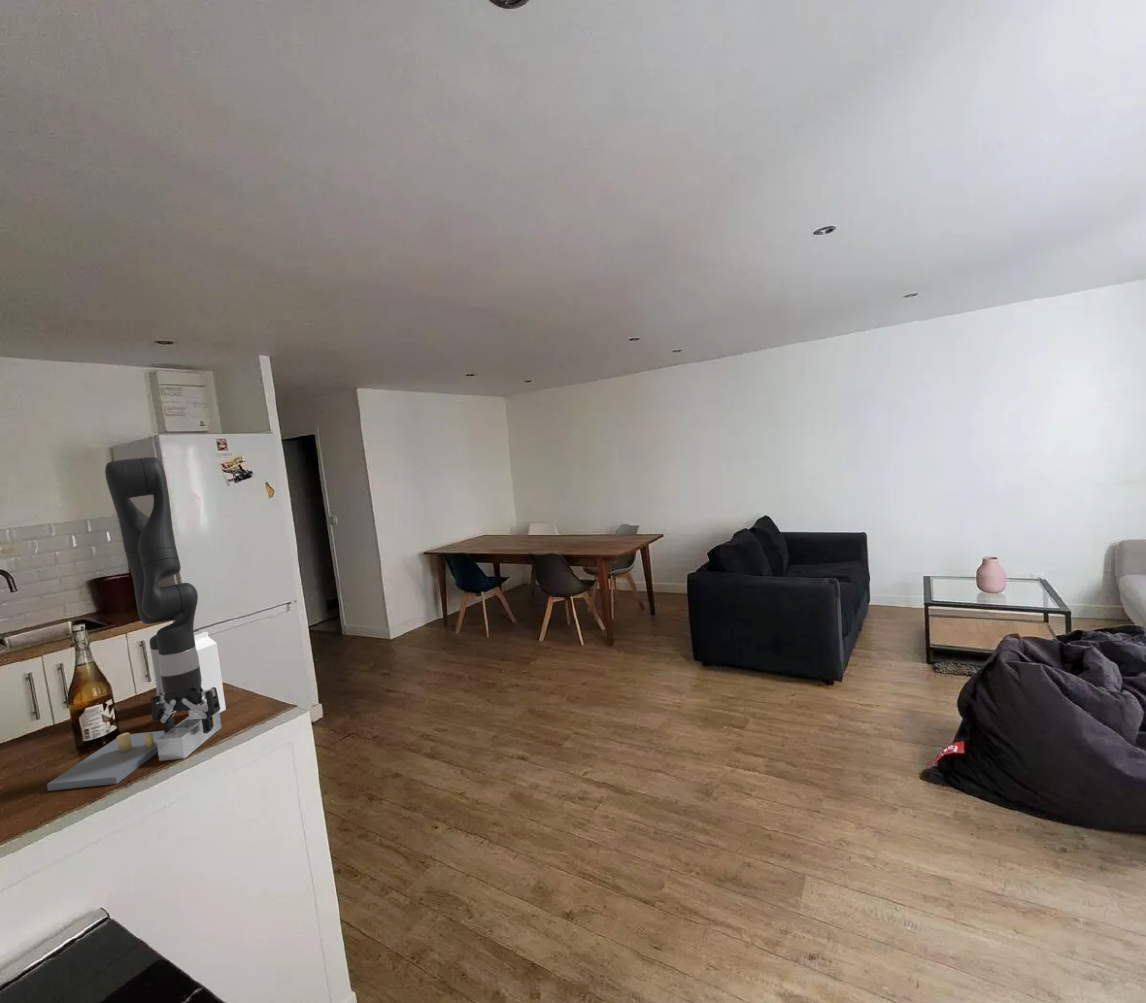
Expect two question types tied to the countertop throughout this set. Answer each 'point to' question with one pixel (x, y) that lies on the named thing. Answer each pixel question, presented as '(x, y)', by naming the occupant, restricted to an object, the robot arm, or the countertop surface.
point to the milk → (209, 667)
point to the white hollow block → (185, 737)
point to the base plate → (110, 762)
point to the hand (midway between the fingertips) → (189, 733)
